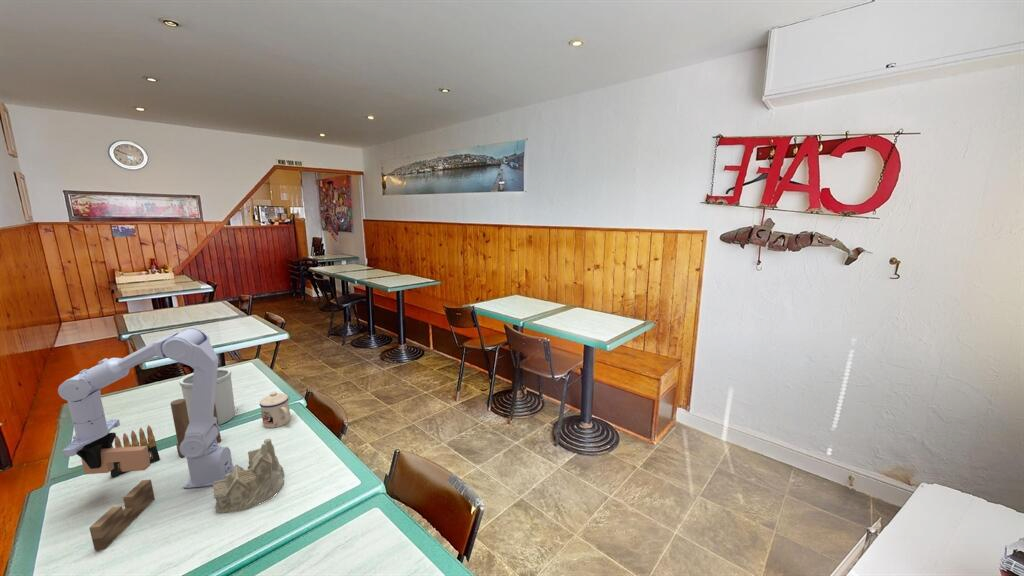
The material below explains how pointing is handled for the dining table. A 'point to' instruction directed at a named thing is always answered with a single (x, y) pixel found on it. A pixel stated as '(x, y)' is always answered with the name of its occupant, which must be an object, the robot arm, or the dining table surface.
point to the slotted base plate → (121, 515)
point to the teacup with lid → (275, 410)
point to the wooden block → (184, 420)
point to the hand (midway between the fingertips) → (99, 464)
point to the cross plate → (121, 459)
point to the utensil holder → (222, 395)
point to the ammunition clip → (143, 442)
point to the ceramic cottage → (250, 481)
